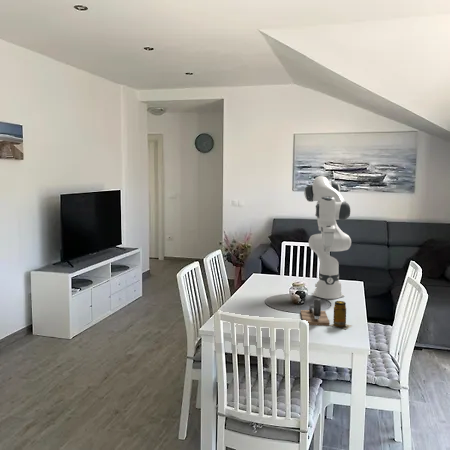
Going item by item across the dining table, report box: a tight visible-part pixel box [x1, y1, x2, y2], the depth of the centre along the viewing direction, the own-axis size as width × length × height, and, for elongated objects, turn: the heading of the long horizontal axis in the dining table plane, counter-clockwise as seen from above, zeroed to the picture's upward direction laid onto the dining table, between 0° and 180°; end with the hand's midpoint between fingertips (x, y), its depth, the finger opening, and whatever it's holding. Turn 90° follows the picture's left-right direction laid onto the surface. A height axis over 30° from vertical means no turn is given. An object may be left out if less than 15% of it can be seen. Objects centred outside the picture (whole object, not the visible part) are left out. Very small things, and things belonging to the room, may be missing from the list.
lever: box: [308, 298, 322, 319], centre depth 236 cm, size 19×4×10 cm, turn 176°
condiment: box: [329, 300, 353, 330], centre depth 226 cm, size 7×8×12 cm
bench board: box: [300, 309, 331, 327], centre depth 237 cm, size 20×13×2 cm, turn 174°
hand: (326, 253), depth 243 cm, fingers open, 8 cm apart
